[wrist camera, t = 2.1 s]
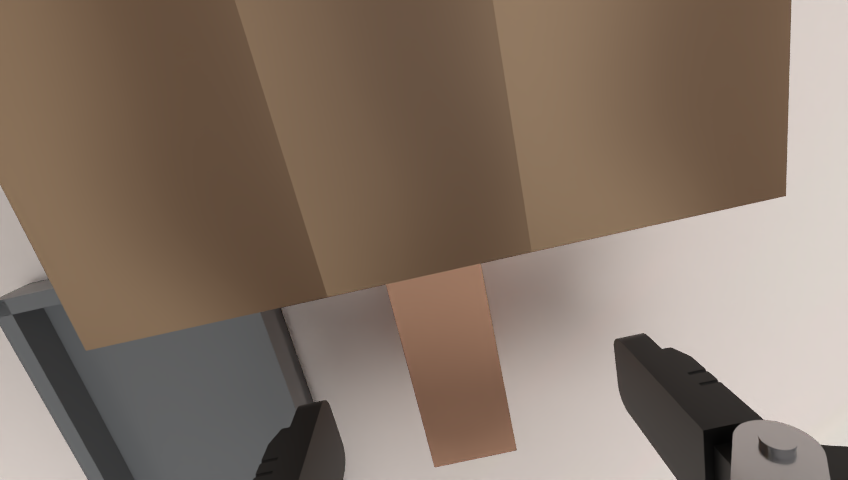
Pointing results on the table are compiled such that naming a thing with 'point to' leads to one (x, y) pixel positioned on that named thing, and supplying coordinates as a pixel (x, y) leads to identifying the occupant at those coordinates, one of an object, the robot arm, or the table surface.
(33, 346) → the tray
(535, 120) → the cardboard shipping carton
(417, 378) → the tan rectangular block
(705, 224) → the table surface
